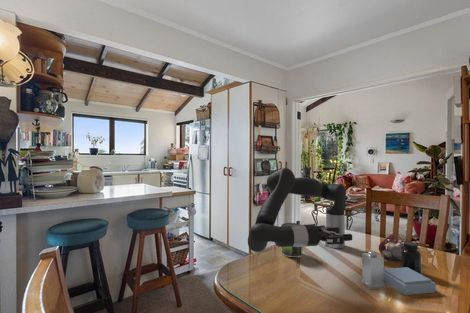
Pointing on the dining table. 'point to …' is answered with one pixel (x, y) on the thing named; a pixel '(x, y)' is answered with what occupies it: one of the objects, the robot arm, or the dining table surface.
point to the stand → (408, 281)
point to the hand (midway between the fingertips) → (344, 233)
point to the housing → (373, 270)
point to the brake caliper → (391, 248)
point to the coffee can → (292, 250)
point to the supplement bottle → (411, 257)
